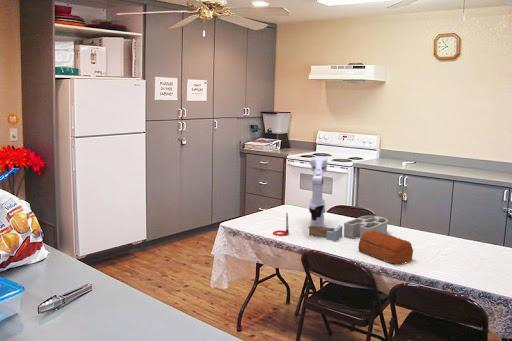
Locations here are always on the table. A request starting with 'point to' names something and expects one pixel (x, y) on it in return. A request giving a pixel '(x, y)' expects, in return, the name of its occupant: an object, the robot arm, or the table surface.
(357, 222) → the grey hollow block
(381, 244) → the bread
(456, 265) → the table surface
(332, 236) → the grey block
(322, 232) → the brown wooden block
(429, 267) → the table surface
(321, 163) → the robot arm
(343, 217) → the table surface
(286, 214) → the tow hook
